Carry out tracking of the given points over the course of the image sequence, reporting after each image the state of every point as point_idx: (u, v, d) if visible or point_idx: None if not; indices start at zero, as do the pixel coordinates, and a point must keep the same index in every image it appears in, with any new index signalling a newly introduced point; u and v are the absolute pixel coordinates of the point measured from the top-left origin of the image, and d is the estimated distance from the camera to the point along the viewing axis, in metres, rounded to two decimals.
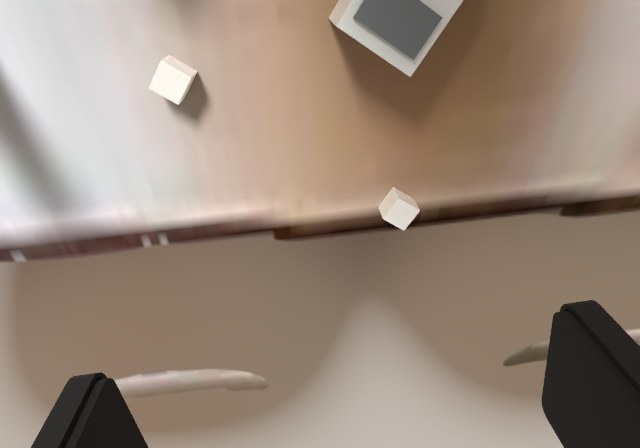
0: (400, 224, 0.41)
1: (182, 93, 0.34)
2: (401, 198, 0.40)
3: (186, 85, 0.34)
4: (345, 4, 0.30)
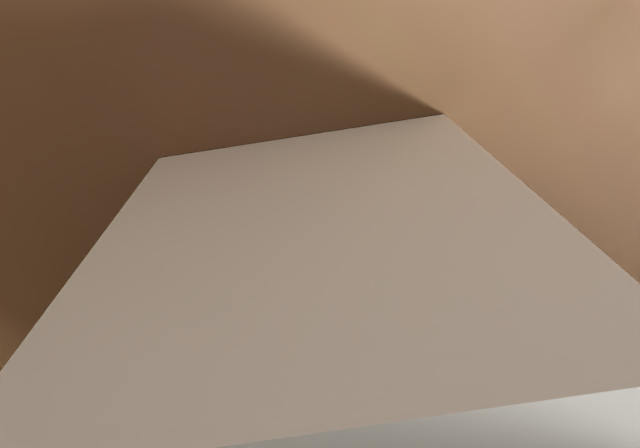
0: None
1: None
2: None
3: None
4: None
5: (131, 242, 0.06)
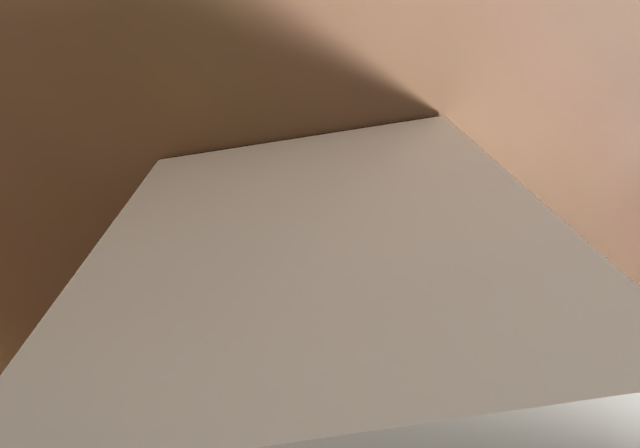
0: None
1: None
2: None
3: None
4: None
5: (130, 244, 0.06)
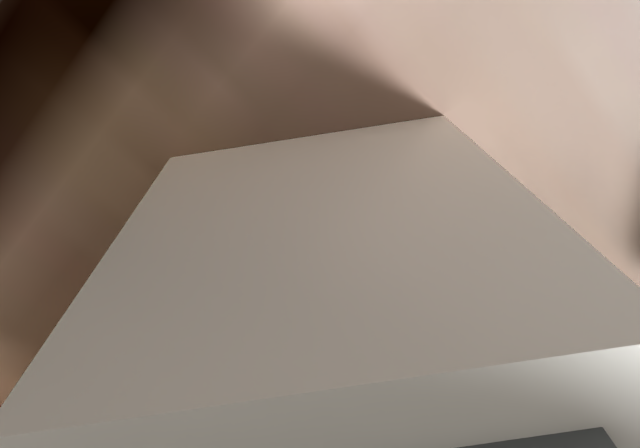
0: None
1: None
2: None
3: None
4: None
5: (151, 232, 0.07)
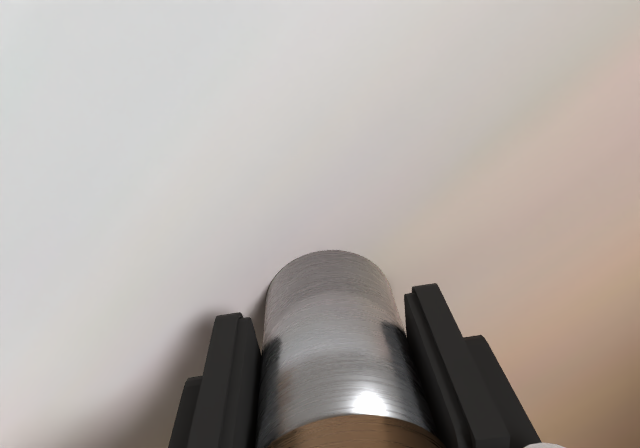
0: None
1: None
2: None
3: None
4: None
5: None
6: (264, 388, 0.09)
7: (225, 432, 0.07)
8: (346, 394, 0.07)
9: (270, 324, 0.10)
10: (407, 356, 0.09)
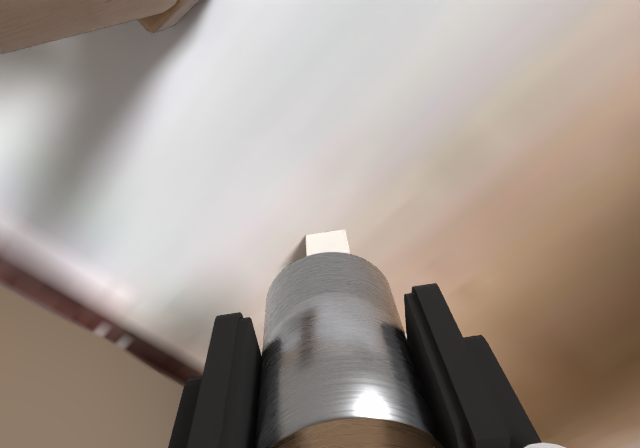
0: None
1: None
2: None
3: None
4: None
5: None
6: (264, 390, 0.09)
7: (225, 432, 0.07)
8: (346, 398, 0.07)
9: (270, 326, 0.10)
10: (407, 358, 0.09)
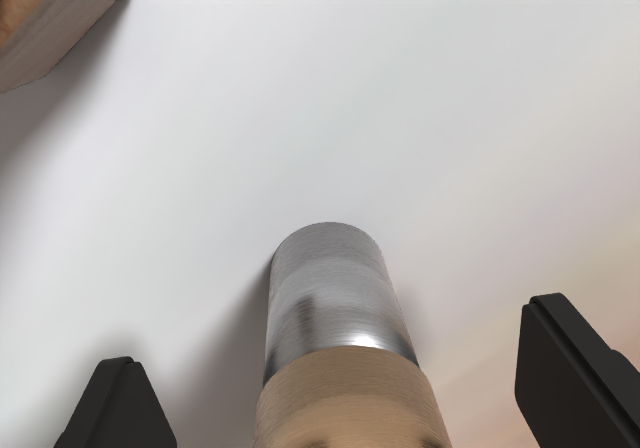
0: None
1: None
2: None
3: None
4: None
5: None
6: (271, 334, 0.10)
7: None
8: (341, 332, 0.09)
9: (275, 285, 0.12)
10: (395, 308, 0.10)
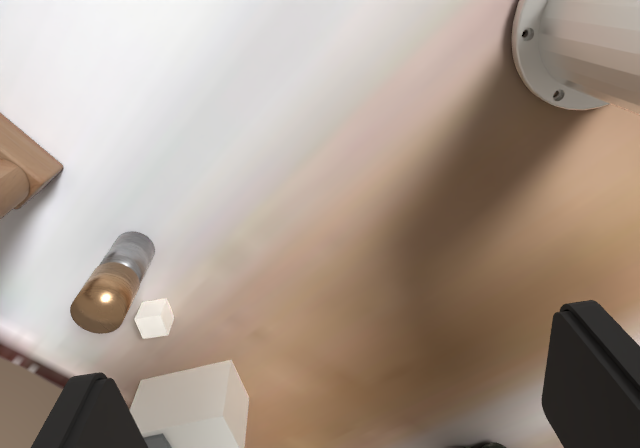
0: None
1: (152, 336, 0.42)
2: None
3: (160, 335, 0.42)
4: (138, 419, 0.43)
5: None
6: None
7: None
8: (112, 260, 0.35)
9: None
10: (137, 256, 0.37)
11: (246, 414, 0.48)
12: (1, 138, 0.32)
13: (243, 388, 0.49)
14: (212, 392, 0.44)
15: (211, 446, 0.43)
